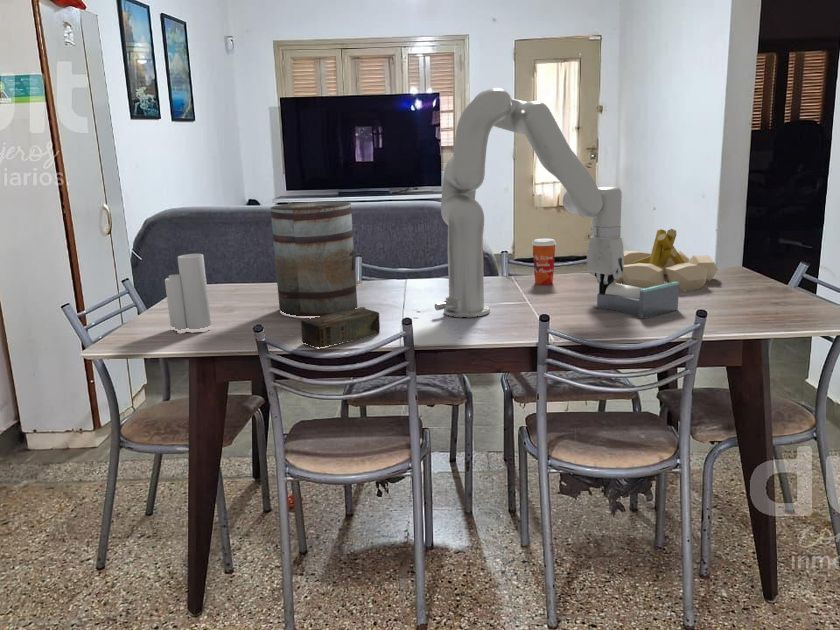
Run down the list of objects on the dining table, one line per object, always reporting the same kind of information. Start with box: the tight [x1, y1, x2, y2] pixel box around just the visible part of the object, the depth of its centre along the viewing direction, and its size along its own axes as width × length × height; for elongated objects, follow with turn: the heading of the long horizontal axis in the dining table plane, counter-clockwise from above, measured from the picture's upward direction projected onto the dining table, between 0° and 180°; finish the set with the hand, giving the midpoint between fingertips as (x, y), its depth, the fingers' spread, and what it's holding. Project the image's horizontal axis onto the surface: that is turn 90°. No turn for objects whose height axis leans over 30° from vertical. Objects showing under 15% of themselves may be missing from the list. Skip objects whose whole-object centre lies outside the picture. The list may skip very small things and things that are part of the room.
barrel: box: [269, 201, 358, 316], centre depth 206 cm, size 22×22×30 cm
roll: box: [605, 283, 644, 300], centre depth 197 cm, size 10×6×6 cm, turn 34°
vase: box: [164, 253, 212, 330], centre depth 189 cm, size 11×7×20 cm, turn 85°
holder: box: [596, 282, 680, 319], centre depth 194 cm, size 14×16×8 cm
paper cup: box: [531, 238, 558, 286], centre depth 230 cm, size 8×8×14 cm
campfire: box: [613, 228, 719, 292], centre depth 227 cm, size 35×34×17 cm
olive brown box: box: [300, 306, 381, 348], centre depth 177 cm, size 8×19×7 cm, turn 133°
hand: (605, 296), depth 203 cm, fingers closed
